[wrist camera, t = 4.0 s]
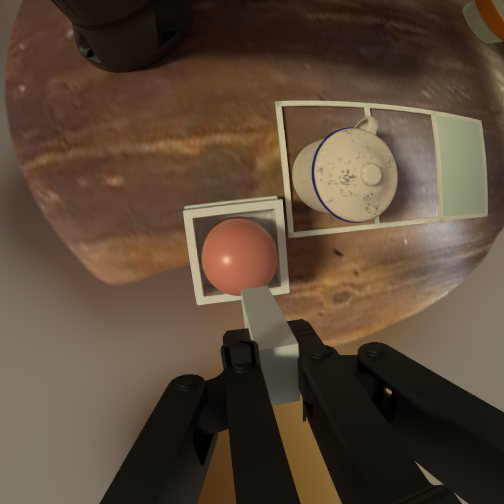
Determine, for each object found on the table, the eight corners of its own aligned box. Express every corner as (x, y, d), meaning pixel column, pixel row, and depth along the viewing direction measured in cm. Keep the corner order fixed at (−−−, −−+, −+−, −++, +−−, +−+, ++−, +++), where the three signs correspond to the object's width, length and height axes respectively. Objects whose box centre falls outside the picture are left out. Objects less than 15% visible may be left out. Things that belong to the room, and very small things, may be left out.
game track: (288, 237, 36) (289, 238, 35) (274, 102, 32) (275, 101, 32) (486, 216, 39) (487, 216, 39) (479, 120, 35) (481, 120, 35)
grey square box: (198, 289, 36) (195, 306, 31) (186, 205, 34) (180, 209, 28) (280, 278, 37) (291, 294, 31) (273, 195, 35) (284, 197, 29)
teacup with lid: (339, 227, 36) (388, 245, 25) (275, 191, 34) (304, 194, 23) (379, 145, 35) (436, 135, 23) (320, 106, 33) (363, 77, 22)
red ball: (208, 286, 32) (206, 312, 25) (199, 220, 30) (194, 230, 24) (273, 277, 33) (288, 301, 26) (267, 212, 31) (282, 220, 24)
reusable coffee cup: (460, -11, 29) (505, -36, 15) (500, 32, 32) (546, 17, 17) (451, 15, 31) (504, -12, 16) (494, 63, 33) (549, 49, 19)
